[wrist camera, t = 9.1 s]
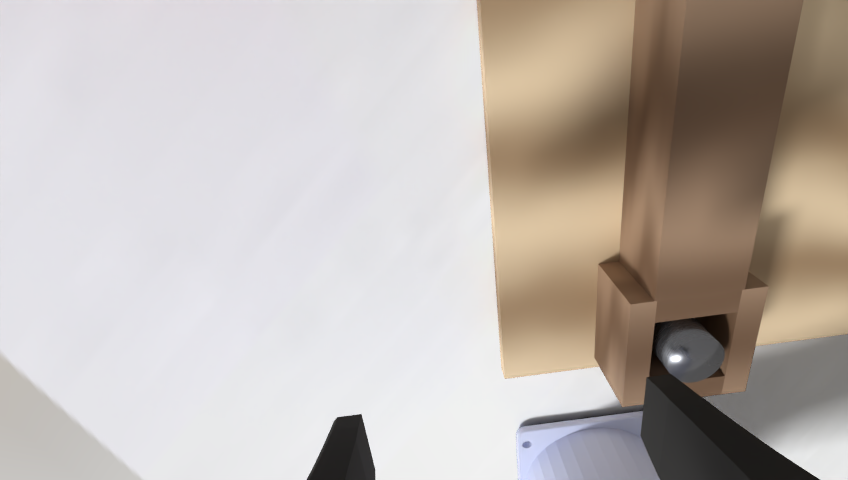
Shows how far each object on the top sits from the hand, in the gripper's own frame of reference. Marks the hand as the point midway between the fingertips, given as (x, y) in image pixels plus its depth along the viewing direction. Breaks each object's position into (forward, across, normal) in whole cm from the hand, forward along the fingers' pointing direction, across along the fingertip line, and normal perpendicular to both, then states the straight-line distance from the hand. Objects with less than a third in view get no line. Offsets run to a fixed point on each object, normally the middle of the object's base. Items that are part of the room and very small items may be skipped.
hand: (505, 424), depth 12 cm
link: (+9, -9, -3) cm, 13 cm away
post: (+10, -8, +4) cm, 14 cm away
